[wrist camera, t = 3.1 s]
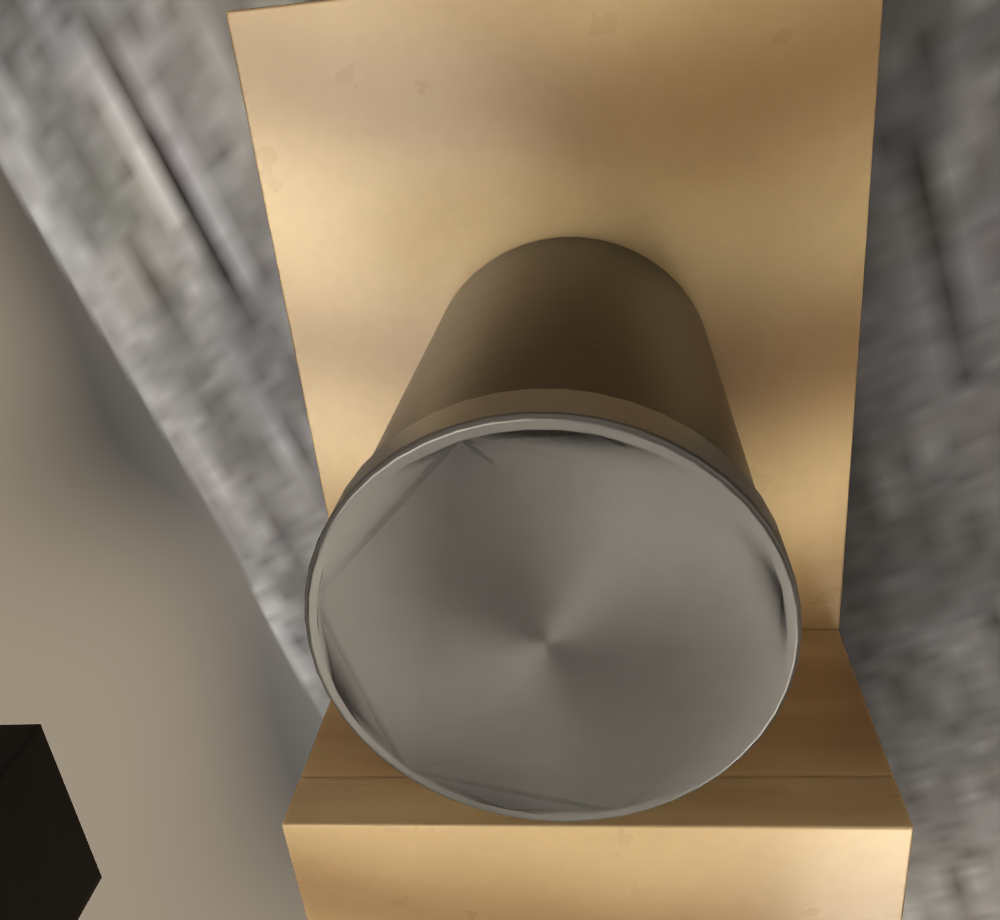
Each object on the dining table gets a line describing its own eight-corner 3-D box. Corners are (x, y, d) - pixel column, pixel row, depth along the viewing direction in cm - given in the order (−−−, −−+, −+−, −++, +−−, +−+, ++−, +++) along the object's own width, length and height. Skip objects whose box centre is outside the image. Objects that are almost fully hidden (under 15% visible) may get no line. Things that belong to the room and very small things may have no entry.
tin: (407, 241, 22) (256, 428, 13) (717, 218, 22) (815, 399, 12) (445, 508, 26) (346, 823, 16) (716, 497, 25) (794, 825, 15)
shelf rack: (302, 9, 26) (60, 14, 14) (824, -50, 24) (1031, -98, 13) (455, 907, 41) (398, 1260, 30) (781, 912, 40) (855, 1290, 28)
